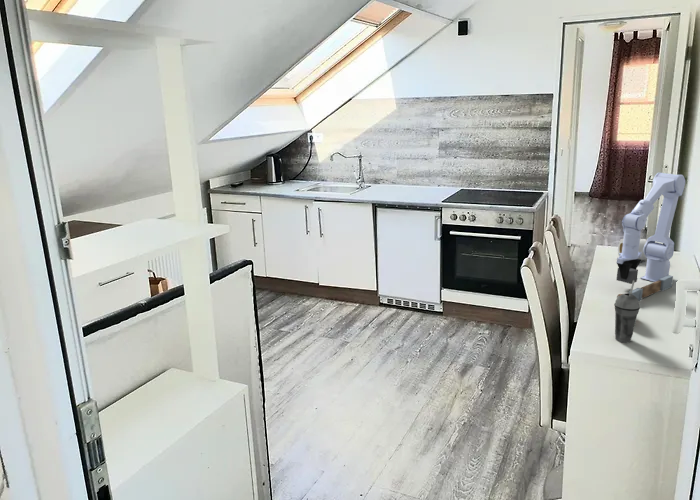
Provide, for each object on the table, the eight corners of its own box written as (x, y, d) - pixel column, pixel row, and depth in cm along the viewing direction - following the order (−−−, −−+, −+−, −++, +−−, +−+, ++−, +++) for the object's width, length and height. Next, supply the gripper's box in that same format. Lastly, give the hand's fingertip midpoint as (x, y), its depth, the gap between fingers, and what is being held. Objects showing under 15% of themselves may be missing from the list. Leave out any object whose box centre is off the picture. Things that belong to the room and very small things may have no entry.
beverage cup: (605, 335, 180) (612, 277, 175) (627, 334, 181) (634, 276, 175) (618, 345, 173) (625, 285, 168) (640, 343, 174) (648, 283, 168)
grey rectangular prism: (621, 278, 223) (623, 266, 222) (636, 281, 218) (638, 269, 217) (616, 280, 221) (617, 268, 219) (631, 284, 216) (632, 271, 215)
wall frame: (666, 285, 223) (668, 275, 222) (672, 286, 222) (673, 276, 220) (626, 302, 207) (628, 291, 205) (631, 304, 205) (633, 293, 204)
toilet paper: (624, 263, 253) (626, 241, 250) (617, 256, 263) (619, 236, 260) (647, 263, 252) (650, 242, 249) (639, 257, 261) (642, 236, 258)
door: (658, 289, 218) (659, 280, 217) (660, 290, 217) (662, 280, 216) (638, 298, 210) (639, 288, 209) (640, 298, 209) (642, 288, 208)
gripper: (630, 239, 222) (627, 271, 226) (610, 245, 214) (607, 278, 218) (648, 242, 217) (644, 275, 221) (628, 249, 209) (624, 283, 213)
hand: (626, 277), depth 219 cm, fingers closed on grey rectangular prism, 4 cm apart
